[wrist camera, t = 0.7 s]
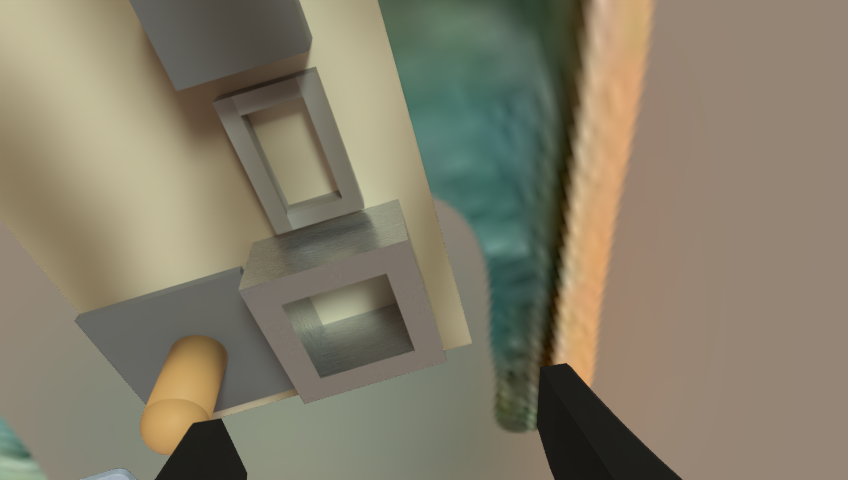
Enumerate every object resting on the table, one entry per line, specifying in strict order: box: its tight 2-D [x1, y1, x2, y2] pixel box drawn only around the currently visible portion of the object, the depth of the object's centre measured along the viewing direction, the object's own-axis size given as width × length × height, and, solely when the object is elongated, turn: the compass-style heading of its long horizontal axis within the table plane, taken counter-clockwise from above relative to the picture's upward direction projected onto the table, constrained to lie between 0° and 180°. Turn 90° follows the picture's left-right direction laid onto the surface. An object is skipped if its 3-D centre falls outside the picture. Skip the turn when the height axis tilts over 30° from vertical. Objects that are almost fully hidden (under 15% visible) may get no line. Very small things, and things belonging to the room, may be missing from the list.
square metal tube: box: [238, 199, 447, 404], centre depth 18 cm, size 6×6×3 cm
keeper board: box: [0, 0, 472, 420], centre depth 17 cm, size 14×18×3 cm
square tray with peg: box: [75, 266, 295, 455], centre depth 18 cm, size 6×6×5 cm
